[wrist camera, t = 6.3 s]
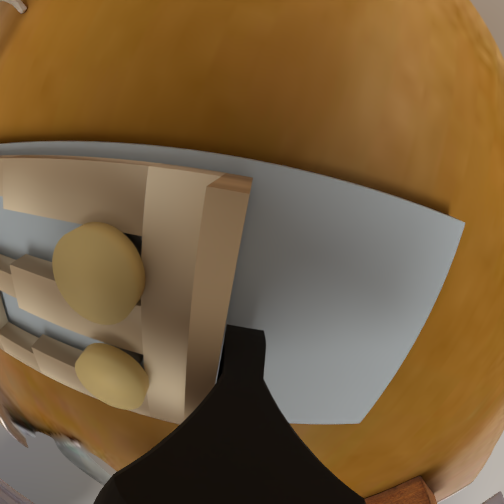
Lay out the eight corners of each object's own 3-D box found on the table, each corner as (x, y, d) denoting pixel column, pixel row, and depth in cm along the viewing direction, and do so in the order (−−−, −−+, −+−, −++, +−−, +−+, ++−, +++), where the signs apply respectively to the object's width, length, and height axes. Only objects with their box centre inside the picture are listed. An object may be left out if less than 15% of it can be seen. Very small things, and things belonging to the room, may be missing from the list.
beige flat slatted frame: (210, 411, 12) (201, 464, 9) (6, 335, 11) (-21, 363, 8) (253, 177, 8) (249, 193, 5) (-22, 156, 7) (-67, 167, 4)
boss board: (355, 408, 14) (368, 457, 10) (13, 327, 13) (-16, 357, 9) (448, 215, 9) (505, 244, 6) (-9, 144, 8) (-57, 153, 5)
